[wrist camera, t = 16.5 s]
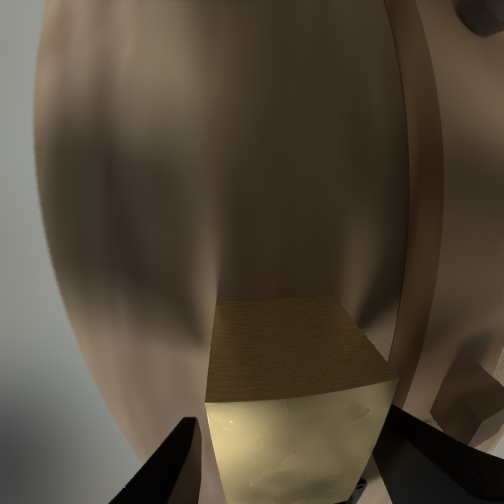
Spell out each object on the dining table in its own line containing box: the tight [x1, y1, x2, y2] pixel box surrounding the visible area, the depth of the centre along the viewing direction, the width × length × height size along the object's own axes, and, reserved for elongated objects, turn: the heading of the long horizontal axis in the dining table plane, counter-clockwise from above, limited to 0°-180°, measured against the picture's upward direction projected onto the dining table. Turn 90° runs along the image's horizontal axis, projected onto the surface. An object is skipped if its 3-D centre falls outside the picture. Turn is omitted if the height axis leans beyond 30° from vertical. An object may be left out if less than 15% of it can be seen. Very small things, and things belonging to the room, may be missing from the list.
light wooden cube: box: [205, 295, 399, 504], centre depth 8 cm, size 6×4×5 cm, turn 2°
